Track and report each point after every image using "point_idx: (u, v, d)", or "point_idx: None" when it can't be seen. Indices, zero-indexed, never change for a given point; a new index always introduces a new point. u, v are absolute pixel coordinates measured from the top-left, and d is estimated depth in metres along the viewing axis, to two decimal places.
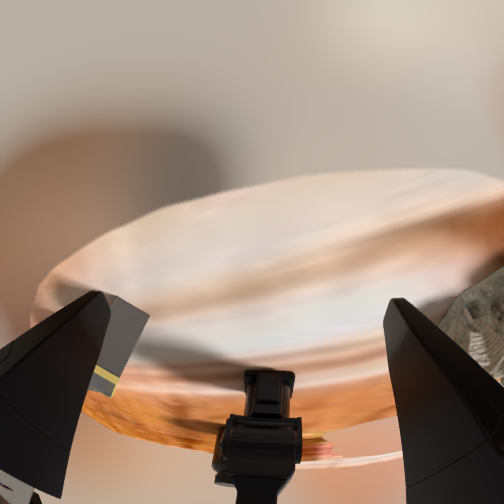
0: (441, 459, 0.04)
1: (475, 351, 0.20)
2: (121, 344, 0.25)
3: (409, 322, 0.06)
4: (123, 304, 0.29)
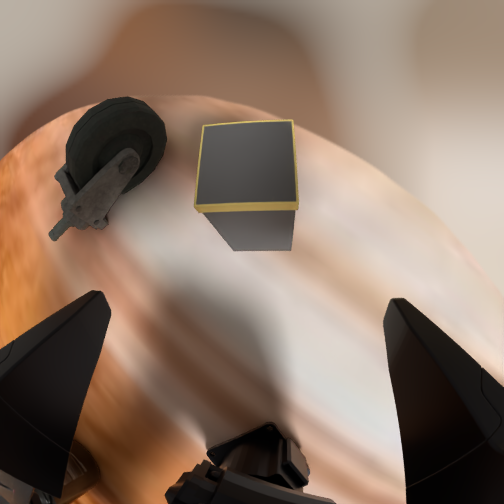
0: (441, 459, 0.04)
1: None
2: None
3: (409, 322, 0.06)
4: None
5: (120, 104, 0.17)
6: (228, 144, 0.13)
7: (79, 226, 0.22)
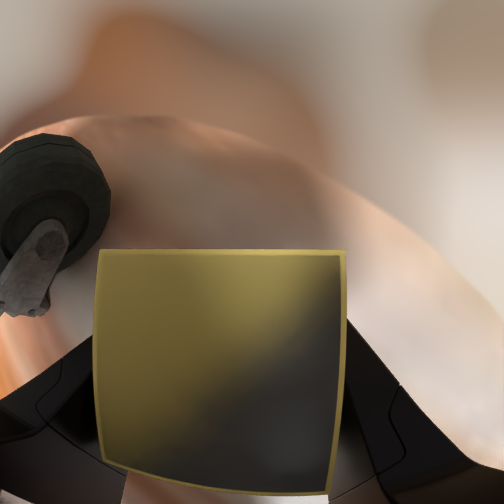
0: (351, 480, 0.04)
1: None
2: None
3: None
4: None
5: (25, 152, 0.09)
6: (156, 328, 0.05)
7: (13, 314, 0.13)
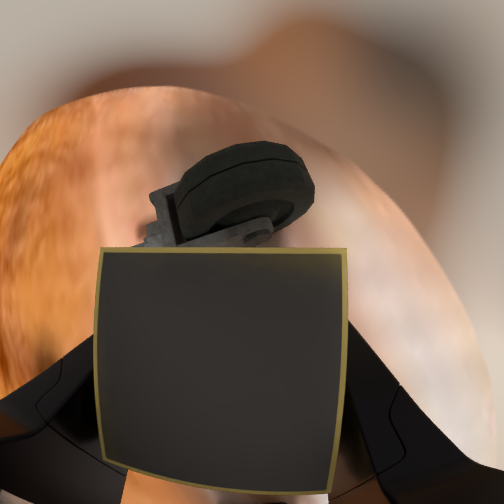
0: (350, 480, 0.04)
1: None
2: None
3: None
4: None
5: (282, 162, 0.15)
6: (157, 326, 0.05)
7: None
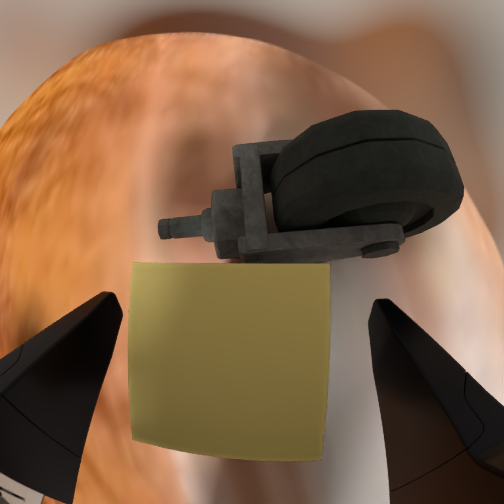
0: (422, 465, 0.04)
1: None
2: None
3: (392, 323, 0.06)
4: None
5: (449, 158, 0.08)
6: (183, 325, 0.06)
7: (223, 256, 0.14)
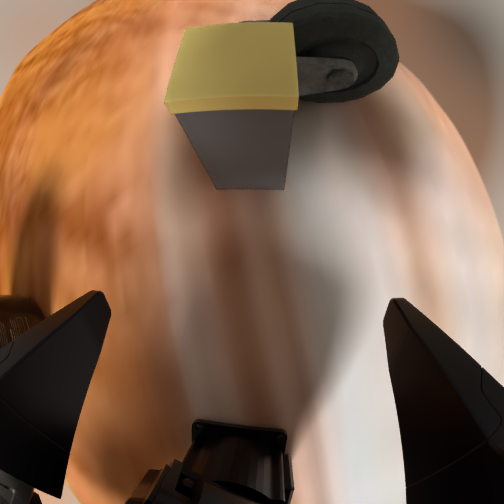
0: (441, 459, 0.04)
1: None
2: None
3: (409, 322, 0.06)
4: None
5: (380, 21, 0.11)
6: (213, 42, 0.09)
7: None
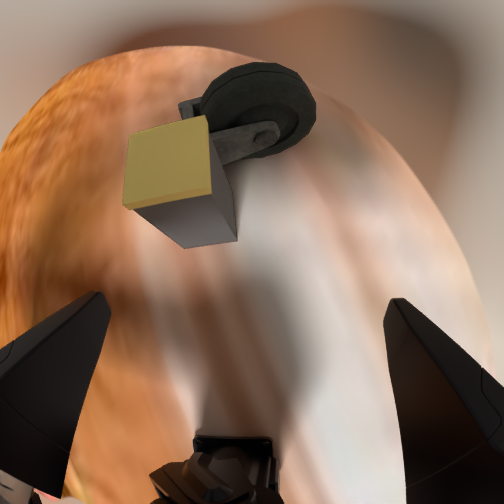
0: (441, 459, 0.04)
1: None
2: (222, 199, 0.18)
3: (409, 322, 0.06)
4: (232, 201, 0.23)
5: (289, 76, 0.16)
6: (149, 147, 0.14)
7: None
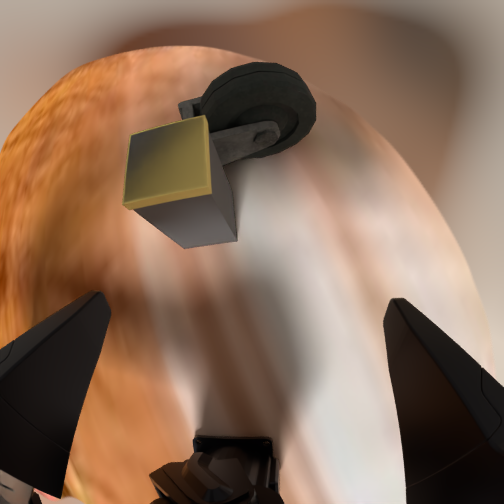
0: (441, 459, 0.04)
1: None
2: (222, 199, 0.18)
3: (409, 322, 0.06)
4: (232, 201, 0.23)
5: (290, 76, 0.16)
6: (149, 147, 0.14)
7: None
